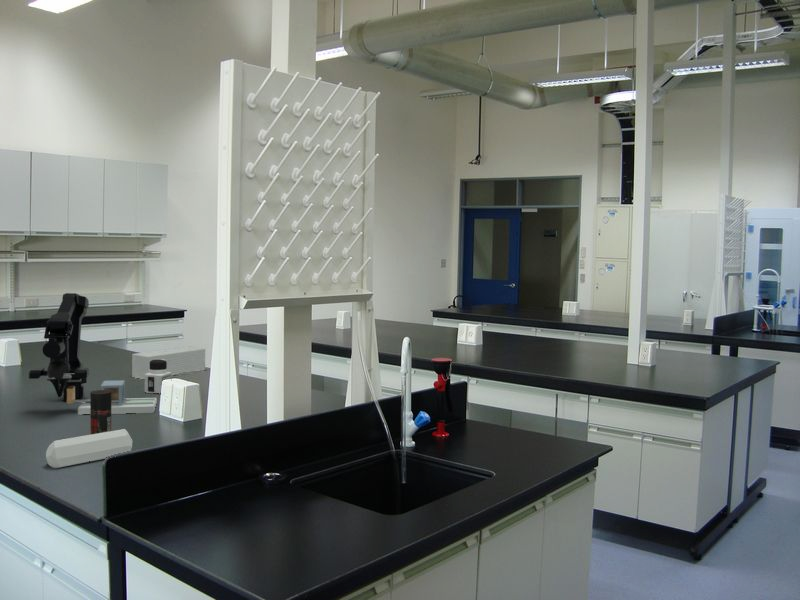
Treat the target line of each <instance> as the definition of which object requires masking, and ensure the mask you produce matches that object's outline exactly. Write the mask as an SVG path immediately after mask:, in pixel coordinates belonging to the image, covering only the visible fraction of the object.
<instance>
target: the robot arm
mask: <svg viewBox="0 0 800 600" xmlns="http://www.w3.org/2000/svg"><path fill="white" fill-rule="evenodd" d="M89 306H90V305H89V299H88V297H86V296H83V295H80V294H79V293H77V292H76V293H73V292H65V293H63V294H62V300H61V303H60V305H59V307H58V310H57V312H56V313H55V314H52V315H51V316H50V317H49V319H48V320H47V321H46V326H45V329H44V336H43V339H48V341H47V342H46V343H45V344H43V346H42V354H43V355H44V356H45V357H46V358H48V359H49V363H48V367H47V370H45V367H34V368H32V369H31V370H29V371H28V379H33V380H34V379H35V380H36V379H37V380H38V379H40V378H41V377H44V376H45V377H47V379H46V381H48V382H50V383H51V384H52V386H53V388H54V390H55V392H56V395H57V397H58V398H62V395H63V398H62V401H64V402H65V401H66V402H67V388H68V387H69V386H75V400H77V399H84V397H85V385H84V384H86V383H88V379H87V378H88V377H89V376H90V369H89V368H88V367H84V364H83V361H82V360H81V358H80V350H81V349H80V347H81V335H82V333H81V332H82V320H83V318H84V317H85V315H86V314H87V313H88V312H87V311H88V309H89Z"/></svg>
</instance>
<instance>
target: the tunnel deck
mask: <svg viewBox="0 0 800 600" xmlns="http://www.w3.org/2000/svg"><path fill="white" fill-rule="evenodd" d="M125 382H126V381H125V380H123V379H122V380H103V382H102V383H101V385H100V390H105V388H119V402H111V415H124V414H126V413H136V414H155V410H156V408H155V407H157V405H156V404H158V403H157V401H158V400H157V397H141V398H140V397H134V398H133V397H131V398H127V400H126V402H122V397H125V395H126V394H125V393H126V390H125V388H126V387H125V386H126V385H125ZM82 414H90V402H81V404H80V405H79V406H78V408H77V415H78V416H83V415H82ZM126 415H127V414H126Z"/></svg>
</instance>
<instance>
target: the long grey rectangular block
mask: <svg viewBox="0 0 800 600" xmlns="http://www.w3.org/2000/svg"><path fill="white" fill-rule="evenodd" d="M131 356H132V357H131V358H132V359H131V371H132V372H131V375H132V376H131V378H132V377H135V378H134V379H136V378H140V379H139V380H141V379H145V374H146V373H149V372H150V361H152V360H155V359H163V360H165V361H167V371H166V372H171V375H175V374H179V373H183V372H191V371H200V370H205V371H206V348H203V347H198V346H196V347H195V346H181V347H175V348H168V349H161V350H153V351H145V352H139V353H138V352H137V353H132V354H131Z"/></svg>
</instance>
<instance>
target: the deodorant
mask: <svg viewBox="0 0 800 600" xmlns="http://www.w3.org/2000/svg"><path fill="white" fill-rule="evenodd" d="M89 399H90V415H89V416H90V417H89V418H90V435H92V434H98V433H103V432H109V431H112V414H111V391H109V390H101V389H100V390H99V389H96V390H92V391H91V392H90V398H89Z"/></svg>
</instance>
